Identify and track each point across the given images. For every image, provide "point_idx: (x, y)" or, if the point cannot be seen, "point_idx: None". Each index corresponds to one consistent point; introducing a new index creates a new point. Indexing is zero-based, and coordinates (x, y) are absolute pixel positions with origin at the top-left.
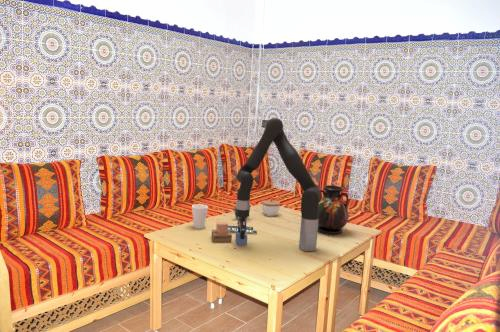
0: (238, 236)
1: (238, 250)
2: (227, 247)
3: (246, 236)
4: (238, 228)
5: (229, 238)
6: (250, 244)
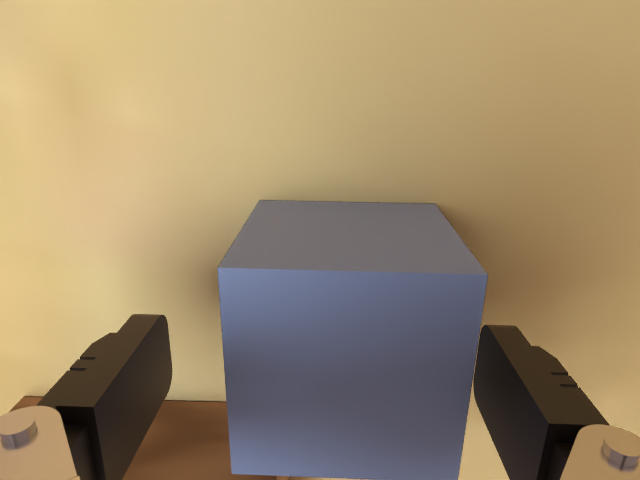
0: (455, 447)
1: (631, 365)
2: (482, 475)
3: (478, 285)
4: (122, 473)
5: (281, 477)
6: (404, 130)
